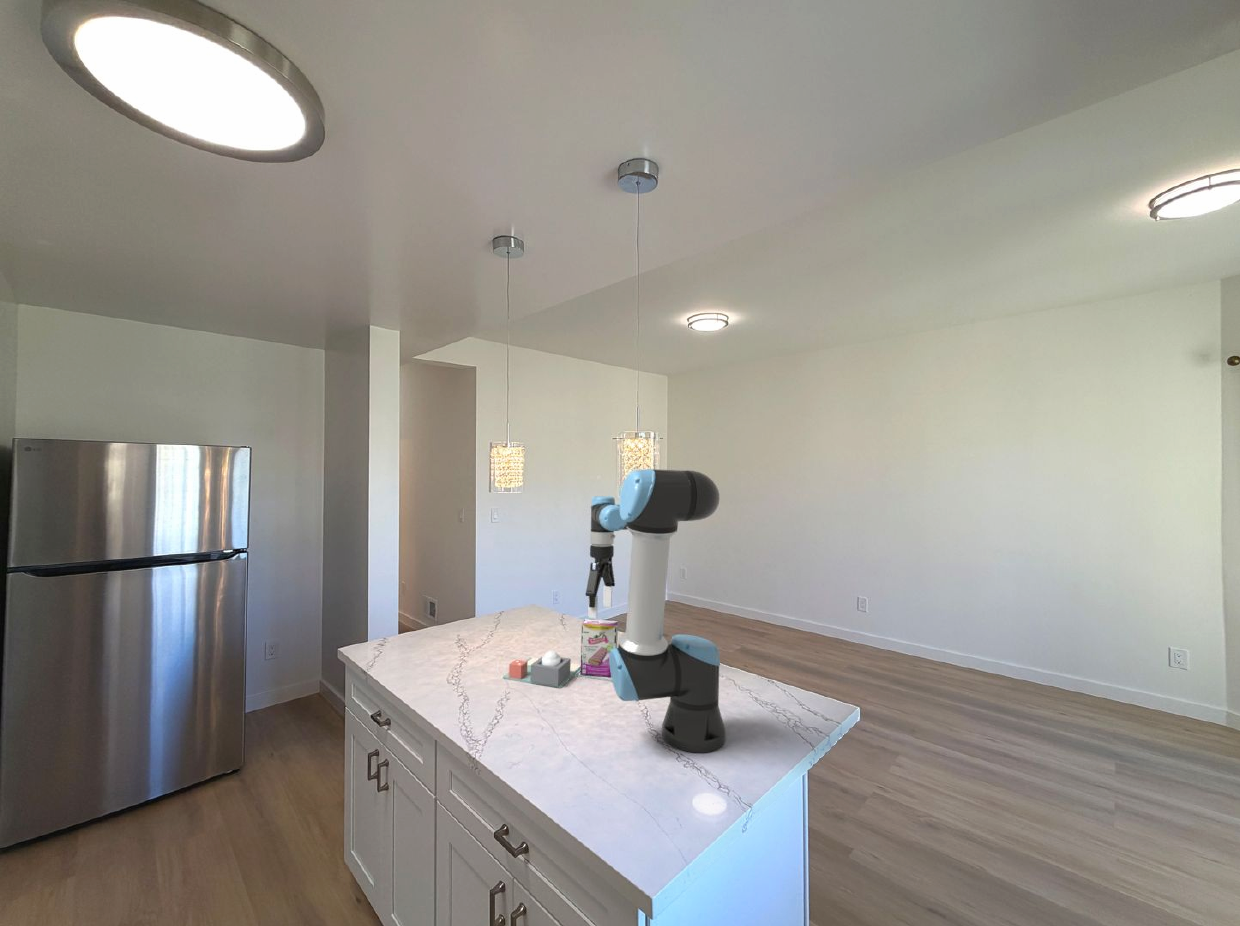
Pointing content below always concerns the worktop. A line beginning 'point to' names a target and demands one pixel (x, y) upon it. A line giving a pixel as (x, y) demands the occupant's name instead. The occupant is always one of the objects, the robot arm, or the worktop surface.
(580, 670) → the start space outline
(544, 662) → the dome plunger
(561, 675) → the game board
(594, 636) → the candy bar box
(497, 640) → the worktop surface
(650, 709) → the worktop surface
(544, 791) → the worktop surface
